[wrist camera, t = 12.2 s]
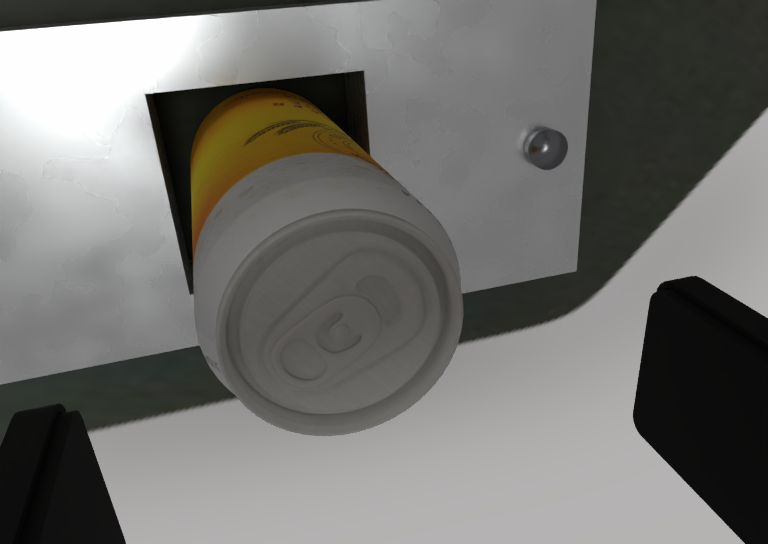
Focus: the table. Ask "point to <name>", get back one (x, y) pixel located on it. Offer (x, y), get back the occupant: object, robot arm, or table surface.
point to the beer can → (314, 270)
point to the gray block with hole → (265, 63)
